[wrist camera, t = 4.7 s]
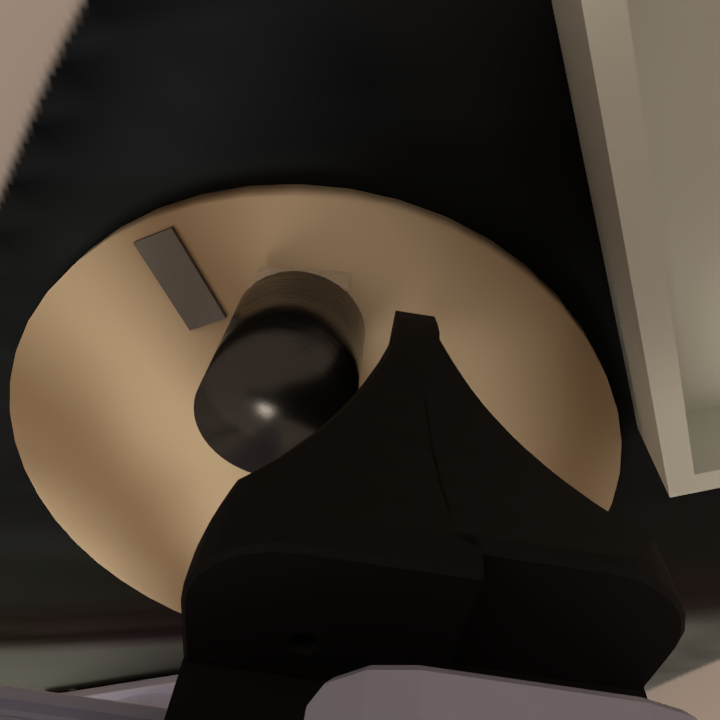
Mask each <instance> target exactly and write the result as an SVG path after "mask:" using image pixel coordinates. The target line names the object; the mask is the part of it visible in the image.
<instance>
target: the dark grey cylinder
mask: <svg viewBox="0 0 720 720" xmlns="http://www.w3.org/2000/svg"><path fill="white" fill-rule="evenodd" d="M350 290H351V272H342V271H327V270H311V269H295V268H280V267H264V266H259V268H258V271H257V273H256V275H255V277H254V279H253V281H252V283H251V287H250V288H249V289H248V290H247V291H246V292H245V293H244V295H243V296H242V298H241V300H240V302H239V304H238V306H237V308H236V310H235V312H234V314H233V316H232V318H231V320H230V323H229V325H228V327H227V329H226V331H225V333H224V335H223V337H222V339H221V341H220V343H219V346H218V348H217V350H216V352H215V354H214V356H213V358H212V360H211V362H210V364H209V367H208V369H207V371H206V373H205V375H204V377H203V379H202V381H201V383H200V385H199V387H198V390H197V392H196V395H195V399H194V417H195V421H196V424H197V427H198V429H199V431H200V433H201V435H202V437H203V438H204V440H205V441H206V442H207V444H208V445H209V446H210V447H211V448H212V449H213V450H214V451H215V452H216V453H217V454H218V455H219V456H221V457H222V458H223V459H225V460H226V461H228V462H229V463H231V464H232V465H234V466H236V467H238V468H240V469H242V470H245V471H247V472H250V473H252V472H254V471H256V470H258V469H259V468H261V467H263V466H265V465H267V464H268V463H270V462H272V461H274V460H276V459H277V458H279V457H280V456H282V455H284V454H285V453H286V452H288V451H289V450H291V449H292V448H294V447H295V446H296V445H298V444H299V443H301V442H302V441H303V440H305V439H306V438H308V437H309V436H310V435H312V434H313V433H314V432H315V431H317V430H318V429H319V428H320V427H321V426H323V425H324V424H325V423H326V422H327V421H328V420H329V419H330V418H331V417H332V416H334V415H335V414H336V413H337V412H338V411H339V410H340V409H341V408H342V407H343V406H344V405H345V404H346V403H347V402H348V401H349V400H350V399H351V397H352V396H353V395H354V394H355V393H356V392H357V391H358V389H359V381H360V372H361V364H362V355H363V347H364V338H365V326H364V320H363V317H362V314H361V312H360V310H359V308H358V306H357V304H356V303H355V301H354V300H353V298H352V297H351V296H350Z"/></svg>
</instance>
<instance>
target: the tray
mask: <svg viewBox="0 0 720 720" xmlns="http://www.w3.org/2000/svg"><path fill="white" fill-rule="evenodd" d="M551 1H552V6H553V11H554V16H555V21H556V26H557V31H558V36H559V41H560V46H561V51H562V56H563V61H564V66H565V71H566V76H567V81H568V86H569V91H570V96H571V101H572V106H573V110H574V115H575V120H576V125H577V130H578V135H579V140H580V145H581V150H582V155H583V160H584V165H585V170H586V175H587V180H588V185H589V190H590V195H591V200H592V205H593V210H594V215H595V220H596V225H597V229H598V234H599V239H600V244H601V249H602V254H603V259H604V264H605V269H606V274H607V279H608V284H609V289H610V294H611V299H612V304H613V309H614V314H615V319H616V324H617V329H618V334H619V339H620V344H621V348H622V353H623V358H624V363H625V368H626V373H627V378H628V383H629V388H630V393H631V398H632V403H633V408H634V413H635V418H636V423H637V428H638V430H639V432H640V434H641V436H642V439H643V441H644V443H645V445H646V447H647V449H648V452H649V454H650V456H651V458H652V460H653V462H654V465H655V467H656V469H657V471H658V473H659V475H660V477H661V480H662V482H663V484H664V486H665V488H666V490H667V493H668V495H669V497H675V496H680V495H685V494H690V493H695V492H700V491H705V490H710V489H715V488H720V0H551Z"/></svg>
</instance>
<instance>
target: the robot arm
mask: <svg viewBox="0 0 720 720" xmlns="http://www.w3.org/2000/svg"><path fill="white" fill-rule="evenodd" d="M439 338H440V332H439V328H438V324H437V321H436V319H435V317H434V316H428V315H421V314H415V313H409V312H402V311H395V316H394V321H393V326H392V331H391V336H390V341H389V345H388V347H387V349H386V350H385V352H384V354H383V356H382V357H381V359H380V361H379V362H378V364H377V365H376V367H375V368H374V369H373V371H372V372H371V374H370V375H369V376H368V378H367V379H366V380H365V382H364V383H363V384H362V386H361V387H360V388H359V389H358V391H357V392H356V393H355V394H354V395H353V396H352V397H351V399H350V400H349V401H348V402H347V403H346V404H345V405H344V406H343V407H342V408H341V409H340V410H339V411H338V412H337V413H336V414H335V415H334V416H332V417H331V418H330V419H329V420H328V421H327V422H326V423H325V424H324V425H323V426H321V427H320V428H319V429H318V430H317V431H315V432H314V433H313V434H312V435H310V436H309V437H308V438H306V439H305V440H303V441H302V442H301V443H299V444H298V445H296V446H295V447H294V448H292V449H291V450H289V451H288V452H286V453H285V454H284V455H282V456H280V457H279V458H277V459H276V460H274V461H272V462H270V463H268V464H267V465H265V466H263V467H261V468H259V469H258V470H256V471H254V472H252V473H250V474H248V475H247V476H245V477H242V478H240V479H239V480H237V482H236V483H235V484H234V486H233V487H232V488H231V490H230V491H229V493H228V494H227V496H226V497H225V499H224V500H223V501H222V503H221V504H220V506H219V508H218V509H217V511H216V512H215V514H214V516H213V517H212V519H211V521H210V522H209V524H208V526H207V528H206V530H205V532H204V534H203V536H202V538H201V539H200V541H199V543H198V545H197V548H196V550H195V553H194V555H193V558H192V561H191V564H190V567H189V569H188V572H187V575H186V578H185V581H184V584H183V590H182V596H181V614H182V632H183V650H184V658H183V662H182V665H181V668H180V671H179V674H177V675H171V676H164V677H158V678H152V679H146V680H139V681H133V682H127V683H120V684H114V685H108V686H102V687H95V688H89V689H83V690H76V691H70V692H64V693H55V692H48V691H41V690H34V689H27V688H20V687H13V686H6V685H0V720H697V719H696V718H695V717H694V716H692V715H690V714H688V713H687V712H685V711H683V710H680V709H677V708H674V707H671V706H668V705H665V704H661V703H658V702H655V701H651V700H648V699H647V696H646V693H645V690H644V686H645V684H646V683H647V682H648V681H649V680H650V678H651V677H652V676H653V675H654V673H655V672H656V671H657V670H658V668H659V667H660V666H661V665H662V663H663V662H664V661H665V660H666V659H667V657H668V656H669V655H670V654H671V652H672V651H673V650H674V648H675V647H676V645H677V644H678V642H679V640H680V638H681V636H682V634H683V633H684V630H685V612H684V609H683V607H682V604H681V602H680V599H679V597H678V594H677V592H676V589H675V586H674V583H673V581H672V578H671V576H670V573H669V571H668V568H667V566H666V564H665V562H664V560H663V558H662V556H661V554H660V552H659V550H658V548H657V546H656V544H655V542H654V540H653V539H652V538H651V537H649V536H647V535H646V534H644V533H642V532H641V531H639V530H638V529H636V528H634V527H633V526H631V525H629V524H628V523H626V522H624V521H623V520H621V519H620V518H618V517H616V516H615V515H613V514H611V513H610V512H608V511H607V510H605V509H603V508H602V507H600V506H599V505H597V504H596V503H594V502H593V501H591V500H590V499H589V498H587V497H586V496H584V495H583V494H582V493H580V492H579V491H577V490H576V489H575V488H573V487H572V486H571V485H569V484H568V483H566V482H565V481H564V480H563V479H561V478H560V477H559V476H557V475H556V474H555V473H554V472H552V471H551V470H550V469H549V468H547V467H546V466H545V465H544V464H543V463H542V462H540V461H539V460H538V459H537V458H536V457H535V456H534V455H532V454H531V453H530V452H529V451H528V450H527V449H526V448H524V447H523V446H522V445H521V444H520V443H519V442H518V441H517V440H516V439H515V438H514V437H513V436H512V435H511V434H510V433H509V432H508V431H507V430H506V429H505V428H504V427H503V426H502V425H501V423H500V422H499V421H498V420H497V419H496V418H495V417H494V416H493V415H492V414H491V413H490V412H489V410H488V409H487V408H486V407H485V406H484V405H483V403H482V402H481V401H480V399H479V398H478V397H477V396H476V394H475V393H474V392H473V390H472V389H471V388H470V386H469V385H468V383H467V382H466V381H465V379H464V378H463V376H462V375H461V373H460V372H459V370H458V368H457V367H456V365H455V364H454V362H453V361H452V359H451V358H450V356H449V354H448V353H447V351H446V349H445V347H444V346H443V344H442V342H441V340H440V339H439Z"/></svg>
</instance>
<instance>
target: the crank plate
mask: <svg viewBox="0 0 720 720" xmlns="http://www.w3.org/2000/svg"><path fill="white" fill-rule="evenodd" d="M259 266H264V267H280V268H295V269H311V270H327V271H342V272H351V290H350V296H351V297H352V298H353V300H354V301H355V303H356V304H357V306H358V308H359V310H360V312H361V314H362V317H363V320H364V326H365V338H364V347H363V355H362V364H361V372H360V381H359V388H360V387H361V386H362V384H363V383H364V382H365V380H366V379H367V378H368V376H369V375H370V374H371V372H372V371H373V369H374V368H375V367H376V365H377V364H378V362H379V361H380V359H381V357H382V356H383V354H384V352H385V350H386V349H387V347H388V345H389V341H390V336H391V331H392V326H393V321H394V316H395V311H402V312H409V313H415V314H421V315H428V316H434V317H435V319H436V321H437V324H438V328H439V332H440V338H439V339H440V340H441V342H442V344H443V346H444V347H445V349H446V351H447V353H448V354H449V356H450V358H451V359H452V361H453V362H454V364H455V365H456V367H457V368H458V370H459V372H460V373H461V375H462V376H463V378H464V379H465V381H466V382H467V383H468V385H469V386H470V388H471V389H472V390H473V392H474V393H475V394H476V396H477V397H478V398H479V399H480V401H481V402H482V403H483V405H484V406H485V407H486V408H487V409H488V410H489V412H490V413H491V414H492V415H493V416H494V417H495V418H496V419H497V420H498V421H499V422H500V423H501V425H502V426H503V427H504V428H505V429H506V430H507V431H508V432H509V433H510V434H511V435H512V436H513V437H514V438H515V439H516V440H517V441H518V442H519V443H520V444H521V445H522V446H523V447H524V448H526V449H527V450H528V451H529V452H530V453H531V454H532V455H534V456H535V457H536V458H537V459H538V460H539V461H540V462H542V463H543V464H544V465H545V466H546V467H547V468H549V469H550V470H551V471H552V472H554V473H555V474H556V475H557V476H559V477H560V478H561V479H563V480H564V481H565V482H566V483H568V484H569V485H571V486H572V487H573V488H575V489H576V490H577V491H579V492H580V493H582V494H583V495H584V496H586V497H587V498H589V499H590V500H591V501H593V502H594V503H596V504H597V505H599V506H600V507H602V508H603V509H605V510H607V511H609V508H610V506H611V504H612V502H613V498H614V494H615V490H616V486H617V482H618V478H619V474H620V461H621V445H622V442H621V434H620V426H619V417H618V410H617V407H616V404H615V401H614V398H613V395H612V392H611V388H610V385H609V382H608V379H607V376H606V374H605V372H604V370H603V368H602V365H601V363H600V361H599V359H598V357H597V355H596V353H595V351H594V349H593V347H592V345H591V343H590V342H589V340H588V338H587V336H586V334H585V332H584V330H583V328H582V327H581V325H580V324H579V323H578V321H577V320H576V319H575V317H574V316H573V315H572V313H571V312H570V311H569V309H568V308H567V307H566V306H565V304H564V303H563V302H562V300H561V299H560V298H559V296H558V295H557V294H556V293H555V292H554V291H553V290H552V289H551V288H550V287H549V286H548V285H546V284H545V283H544V282H543V281H542V280H541V279H540V278H539V277H538V276H537V275H536V274H535V273H534V272H533V271H532V270H531V269H530V268H529V267H528V266H527V265H525V264H524V263H522V262H521V261H520V260H518V259H517V258H515V257H514V256H513V255H511V254H510V253H508V252H507V251H506V250H504V249H503V248H501V247H500V246H499V245H497V244H496V243H494V242H493V241H492V240H490V239H488V238H487V237H485V236H483V235H481V234H479V233H477V232H475V231H473V230H471V229H469V228H467V227H465V226H464V225H462V224H460V223H458V222H456V221H454V220H452V219H450V218H448V217H446V216H443V215H441V214H438V213H435V212H432V211H430V210H427V209H424V208H421V207H419V206H416V205H413V204H410V203H408V202H405V201H402V200H399V199H395V198H390V197H386V196H381V195H377V194H372V193H368V192H363V191H359V190H355V189H350V188H339V187H328V186H318V185H307V184H281V185H254V186H245V187H239V188H233V189H228V190H222V191H216V192H210V193H204V194H200V195H197V196H194V197H191V198H188V199H185V200H182V201H179V202H176V203H173V204H170V205H166V206H163V207H160V208H158V209H156V210H154V211H152V212H150V213H148V214H146V215H144V216H142V217H140V218H138V219H136V220H134V221H132V222H130V223H128V224H126V225H124V226H122V227H120V228H119V229H118V230H116V231H115V232H113V233H112V234H111V235H109V236H108V237H106V238H105V239H104V240H102V241H101V242H100V243H98V244H97V245H95V246H94V247H93V248H91V249H90V250H89V251H88V252H87V253H86V254H84V255H83V256H82V257H81V258H80V259H79V260H78V261H77V262H76V263H75V264H74V265H73V266H72V267H71V268H70V269H69V270H68V271H67V272H66V273H65V274H64V275H63V276H62V277H61V278H60V280H59V281H58V282H57V283H56V284H55V285H54V286H53V287H52V288H51V289H50V290H49V291H48V292H47V293H46V295H45V296H44V298H43V300H42V301H41V303H40V304H39V306H38V307H37V309H36V310H35V312H34V313H33V315H32V316H31V318H30V319H29V321H28V323H27V326H26V328H25V331H24V333H23V335H22V338H21V340H20V343H19V345H18V348H17V350H16V354H15V359H14V364H13V370H12V375H11V380H10V415H11V421H12V426H13V432H14V438H15V442H16V445H17V448H18V451H19V454H20V457H21V460H22V463H23V465H24V468H25V470H26V472H27V474H28V476H29V478H30V480H31V482H32V484H33V486H34V488H35V490H36V492H37V494H38V495H39V497H40V498H41V500H42V501H43V503H44V504H45V506H46V507H47V508H48V510H49V511H50V513H51V514H52V516H53V517H54V518H55V520H56V521H57V522H58V523H59V524H60V525H61V527H62V528H63V529H64V530H65V531H66V532H67V533H68V535H69V536H70V537H71V538H72V539H73V540H74V541H75V542H76V543H77V544H78V545H79V546H80V547H81V548H82V549H83V550H84V551H86V552H87V553H88V554H89V555H90V556H91V557H92V558H93V559H94V560H95V561H96V562H98V563H99V564H100V565H102V566H103V567H104V568H106V569H107V570H108V571H110V572H111V573H112V574H114V575H115V576H116V577H118V578H119V579H120V580H122V581H123V582H125V583H126V584H128V585H130V586H131V587H133V588H134V589H136V590H138V591H139V592H141V593H142V594H144V595H146V596H147V597H149V598H151V599H153V600H155V601H157V602H159V603H161V604H163V605H165V606H167V607H169V608H171V609H173V610H175V611H177V612H179V613H181V596H182V590H183V584H184V581H185V578H186V575H187V572H188V569H189V567H190V564H191V561H192V558H193V555H194V553H195V550H196V548H197V545H198V543H199V541H200V539H201V538H202V536H203V534H204V532H205V530H206V528H207V526H208V524H209V522H210V521H211V519H212V517H213V516H214V514H215V512H216V511H217V509H218V508H219V506H220V504H221V503H222V501H223V500H224V499H225V497H226V496H227V494H228V493H229V491H230V490H231V488H232V487H233V486H234V484H235V483H236V482H237V480H239V479H240V478H242V477H245V476H247V475H248V474H250V472H247V471H245V470H242V469H240V468H238V467H236V466H234V465H232V464H231V463H229V462H228V461H226V460H225V459H223V458H222V457H221V456H219V455H218V454H217V453H216V452H215V451H214V450H213V449H212V448H211V447H210V446H209V445H208V444H207V442H206V441H205V440H204V438H203V437H202V435H201V433H200V431H199V429H198V427H197V424H196V421H195V417H194V399H195V395H196V392H197V390H198V387H199V385H200V383H201V381H202V379H203V377H204V375H205V373H206V371H207V369H208V367H209V364H210V362H211V360H212V358H213V356H214V354H215V352H216V350H217V348H218V346H219V343H220V341H221V339H222V337H223V335H224V333H225V331H226V329H227V327H228V325H229V323H230V320H231V318H232V316H233V314H234V312H235V310H236V308H237V306H238V304H239V302H240V300H241V298H242V296H243V295H244V293H245V292H246V291H247V290H248V289H249V288H250V287H251V283H252V281H253V279H254V277H255V275H256V273H257V271H258V268H259Z"/></svg>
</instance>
